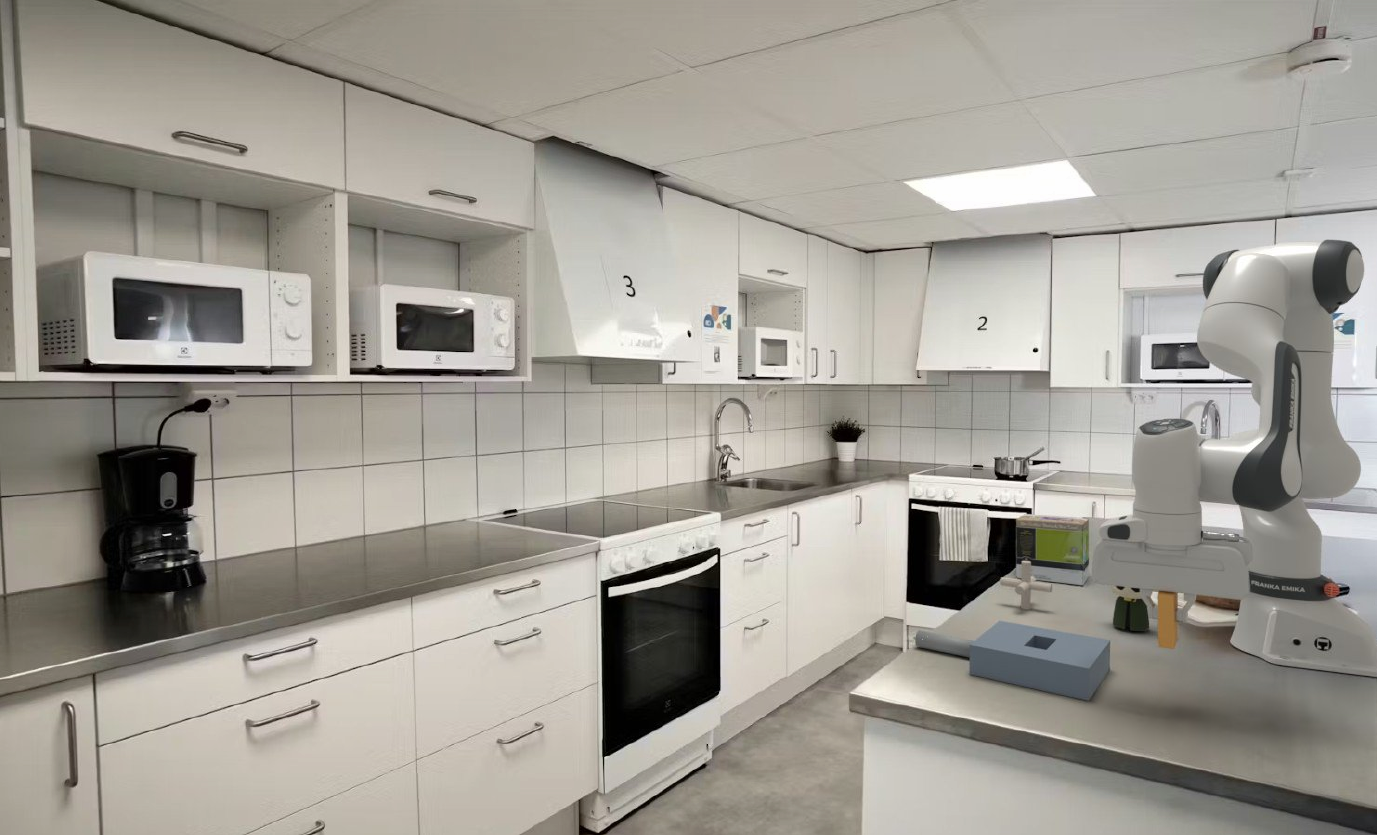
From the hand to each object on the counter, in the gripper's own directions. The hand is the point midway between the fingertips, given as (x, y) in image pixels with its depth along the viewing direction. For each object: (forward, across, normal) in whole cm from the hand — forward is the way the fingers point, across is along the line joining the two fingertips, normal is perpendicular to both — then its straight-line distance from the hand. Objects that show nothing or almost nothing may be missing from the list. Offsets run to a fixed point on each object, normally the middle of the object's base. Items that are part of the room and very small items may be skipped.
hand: (1168, 619), depth 119 cm
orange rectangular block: (+4, 0, 0) cm, 4 cm away
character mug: (+13, +11, -35) cm, 39 cm away
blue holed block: (+12, +25, -1) cm, 27 cm away
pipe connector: (+13, +31, -37) cm, 50 cm away
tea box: (+14, +32, -67) cm, 76 cm away
